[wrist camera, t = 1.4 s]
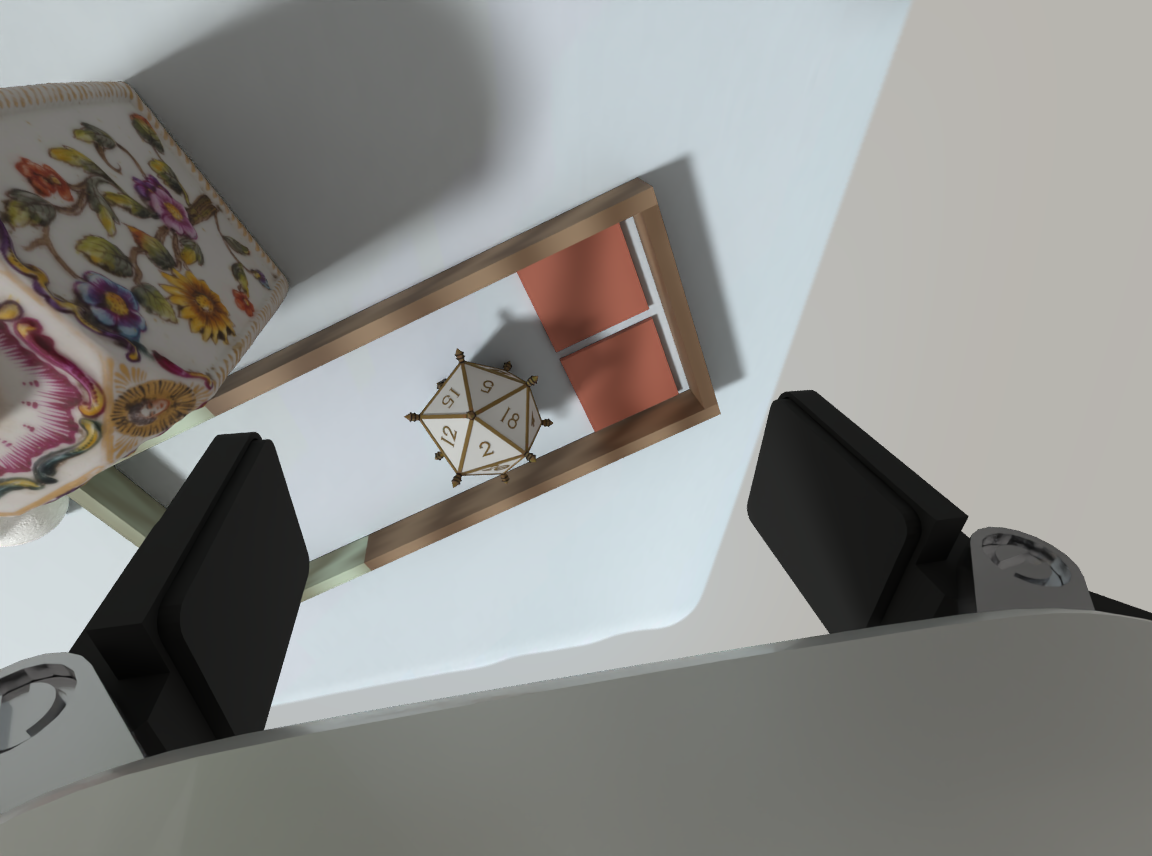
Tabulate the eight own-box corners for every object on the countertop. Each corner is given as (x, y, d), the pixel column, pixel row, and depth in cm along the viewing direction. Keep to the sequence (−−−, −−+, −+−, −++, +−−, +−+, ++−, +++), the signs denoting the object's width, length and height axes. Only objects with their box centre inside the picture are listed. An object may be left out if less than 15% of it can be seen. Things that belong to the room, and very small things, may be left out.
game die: (504, 361, 42) (601, 429, 37) (436, 450, 42) (525, 529, 37) (437, 301, 34) (550, 377, 29) (353, 410, 34) (453, 505, 29)
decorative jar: (137, 373, 34) (-105, 614, 19) (-66, 191, 27) (-680, 345, 12) (302, 284, 33) (182, 465, 18) (133, 72, 26) (-276, 84, 11)
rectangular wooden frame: (637, 177, 33) (652, 186, 30) (705, 393, 43) (720, 413, 40) (73, 451, 36) (45, 479, 33) (258, 595, 45) (247, 626, 43)
